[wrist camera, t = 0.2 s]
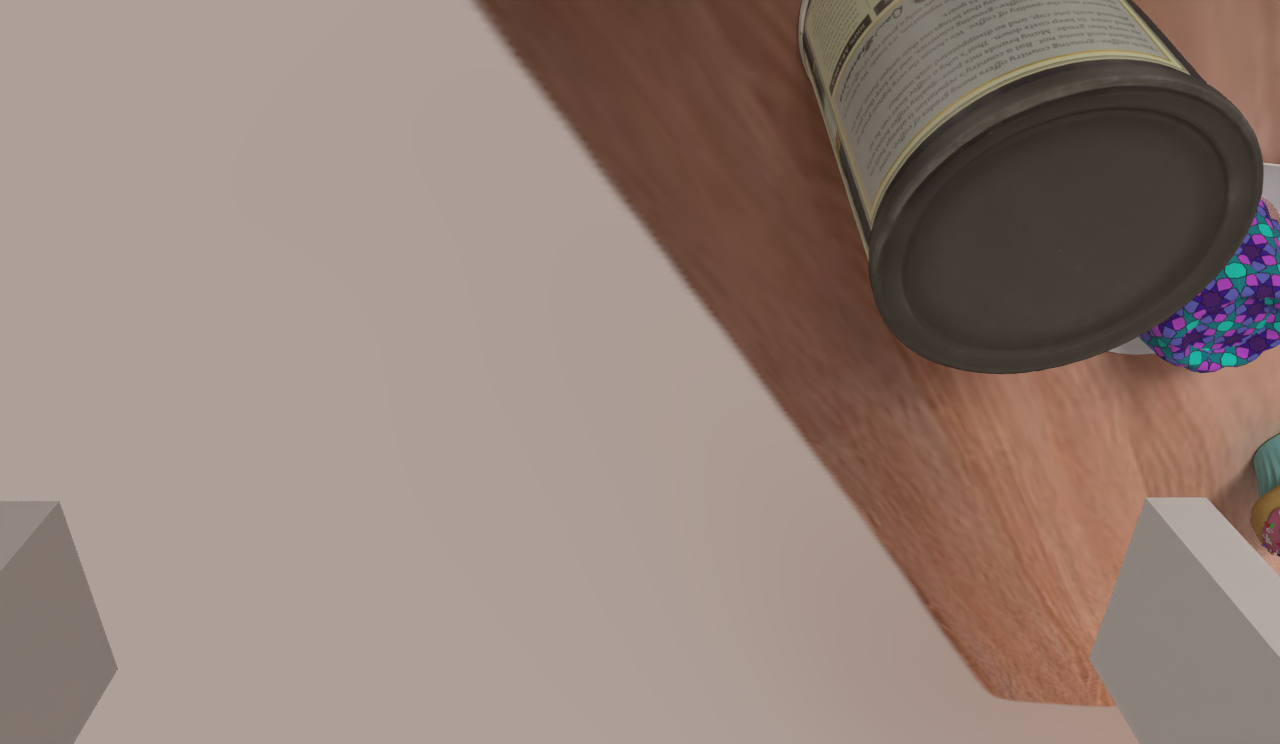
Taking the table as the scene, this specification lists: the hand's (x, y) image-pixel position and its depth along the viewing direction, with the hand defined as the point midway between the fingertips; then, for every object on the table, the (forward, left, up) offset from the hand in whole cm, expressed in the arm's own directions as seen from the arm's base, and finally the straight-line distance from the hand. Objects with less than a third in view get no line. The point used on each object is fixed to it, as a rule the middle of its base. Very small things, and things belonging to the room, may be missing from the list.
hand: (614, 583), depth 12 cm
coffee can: (-5, +13, -28) cm, 31 cm away
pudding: (-7, +33, -28) cm, 44 cm away
